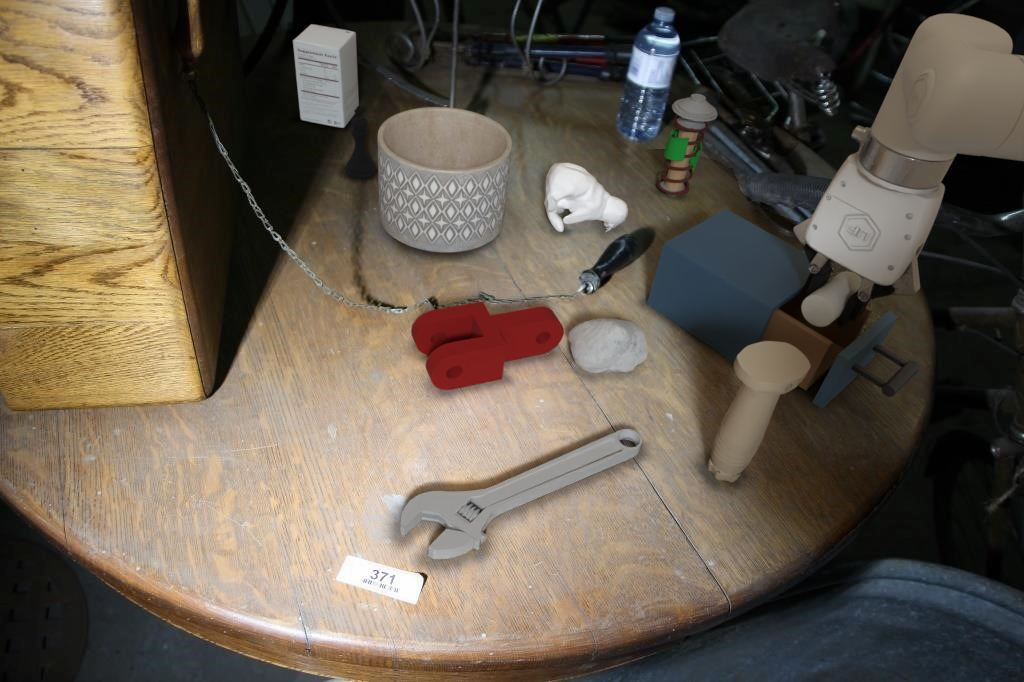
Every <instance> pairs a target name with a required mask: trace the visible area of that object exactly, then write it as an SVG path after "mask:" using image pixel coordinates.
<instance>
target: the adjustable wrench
mask: <svg viewBox="0 0 1024 682" xmlns="http://www.w3.org/2000/svg"><path fill="white" fill-rule="evenodd" d="M621 440H626V441H629V442H632V443H633V444H634V445H635V446H633V447H631V446H630V447H629V446H626V445H624V444H623V443H621V442H620V441H621ZM642 445H643V439H642V436H641V434H639V433H638V432H637V431H636V430H634V429H631V428H621V429H619V430H617V431H615V432H613V433H610V434H608V435H606V436H603V437H601V438H599V439H596V440H594V441H592V442H590V443H588V444H586V445H583V446H581V447H579V448H577V449H574V450H572V451H569V452H567V453H564V454H562V455H561V456H558V457H556V458H553V459H551V460H549V461H547V462H544V463H542V464H540V465H538V466H535V467H533V468H531V469H529V470H526V471H524V472H521V473H519V474H517V475H515V476H513V477H512V476H511V478H507V479H506V480H503V481H501V482H499V483H496V484H494V485H492V486H488V487H485V488H481V489H475V490H474V489H473V490H463V491H462V490H461V491H460V490H459V491H458V490H457V491H452V490H451V491H448V490H447V491H445V490H444V491H443V490H442V491H440V490H432V491H426V492H423V493H420V494H417V495H416V496H414V497H413V498H412V499H410V500H409V501H408V502H407V504H406V505H405V506H404V508H403V509H402V512H401V514H400V515H401V516H400V528H399V529H400V531H399V532H400V534H401V536H402V537H403V538H405V537H406V535H407V534H408V533H409V532H411V531H412V529H413V528H415V527H416V525H418V524H419V523H420V522H421V521H428V522H435V523H439V524H440V525H441V526H443V527H444V528H445V530H443V531H442V532H441V533H440V535H438V536H437V537H436V539H434V541H433V542H432V543H430V544H429V545H428V553H427V556H428V557H429V558H431V559H432V560H449V559H453V558H457V557H459V556H462V555H464V554H466V553H468V552H470V551H472V550H474V549H475V550H476V551H479V550H480V549H481V544H484V543H485V541H486V540H487V538H488V535H487V534H486V533H484V532H485V531H486V529H487V527H488V526H489V524H490V523H491V522H492V521H493V520H494V519H495V518H498V516H501V515H503V514H504V513H506V512H508V511H510V510H513V509H516V508H519V507H521V506H522V505H524V504H528V503H530V502H532V501H534V500H536V499H538V498H541V497H544V496H546V495H548V494H551V493H553V492H556V491H558V490H560V489H562V488H565V487H568V486H569V485H572V484H574V483H576V482H579V481H581V480H584V479H587V478H588V477H591V476H593V475H595V474H598V473H600V472H602V471H605V470H607V469H609V468H612V467H614V466H617V465H619V464H622V463H623V462H626V461H629V460H631V459H633V458H635V457H637V456H638V454H639V453H640V450H641V448H642Z"/></svg>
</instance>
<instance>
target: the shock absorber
mask: <svg viewBox="0 0 1024 682" xmlns="http://www.w3.org/2000/svg"><path fill="white" fill-rule="evenodd" d="M671 109H672V111H673V113H674V114H676V115H677V116H675V117H674V119H673V122H674V123H673V127H674V128H675V129H673V130H671V131H670V133H669V135H668V138H667V142H666V145H665V148H664V150H663V151H664V152H663V157H664V158H666V159H665V160H664V161H663V165H664V166H665V167H666V168H668V170H664V171H662V172H660V175H659V176H660V179H658V181H657V182H656V185H657V188H658V189H659V190H660V191H661V192H663V193H665V194H666V195H668V196H671V197H679V196H684V195H687V194H688V193H689V192H690V182H689V181H690V180H692V178H693V177H694V176H693V175H694V172H695V170H696V168H697V164H698V162H699V159H700V156H701V153H702V151H703V145H702V142H703V141H704V139H705V132H706V131H707V130H708V129H709V124H708V122H712V121H715V120H716V119H717V118H718V115H719V114H718V111H717V109H716V107H715V106H713V105H712V104H711V103H709V101H707V97H706V96H705V95H704V94H701V93H693V94H691V95H690V96H688V97H685V98H681V99H677V100H676V101H674V102H673V103H672V105H671ZM699 134H700V138H699V137H698V135H699ZM668 163H670V164H668ZM687 172H689V175H688V177H687ZM665 175H666V176H665Z"/></svg>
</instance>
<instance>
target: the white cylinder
mask: <svg viewBox="0 0 1024 682" xmlns="http://www.w3.org/2000/svg"><path fill="white" fill-rule="evenodd" d="M861 281H862V276H860V275H858V274H856V273H854V272H852V271H850V270H844V271H841V272H839V273H837V274H836V275H834V276H833V277H832V278H830V279H828V281H827V283H825V284H824V285H823V286H821V287H820V288H819V289H817V290H816V291H814V292H813V293H812V294H810V295H809V296H808V297H806V298H805V299H804V301H803V302H802V306H801V310H802V314H803V316H804V318H805V319H806V320H807V321H808V322H809V323H811V324H812V325H815V326H818V327H824V326H827V325H829V324H830V323H832V322H833V321H834V320H835V319H836V318H838V317H839V316H840V315H841V313H842V311H843V309H844V307H845V305H846V303H847V302H848V300H849V298H850V297H851V296H852V295H853V294H854V293H855V292H857V290H858V289H859V288H860V285H861Z"/></svg>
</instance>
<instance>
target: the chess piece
mask: <svg viewBox="0 0 1024 682" xmlns="http://www.w3.org/2000/svg"><path fill="white" fill-rule="evenodd" d="M362 111H363V106H360V105H359V106H357V108H356V109H355V111H354V112H355V114H354V116H353V117H352V118H351V120H350V125H351V128H352V129H351V131H350V134H351V136H352V137H353V140H354V150H353V152H352V154H351V156H350V158H349V160H348V161H347V163H346V166H345V168H344V171H345V173H346V175H347V176H348V177H350V178H352V179H356V180H366V179H367V180H368V179H371V178H373V177H375V176H376V174H377V171H378V169H377V166H376V165H375V163H374V161H373V159H372V158H371V156H370V154H369V152H368V151H367V148H366V139H367V137H368V134H369V130H368V129H367V128H368V124H369V122H368V119H367V118H366V117H365V115H363V114H362Z"/></svg>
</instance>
